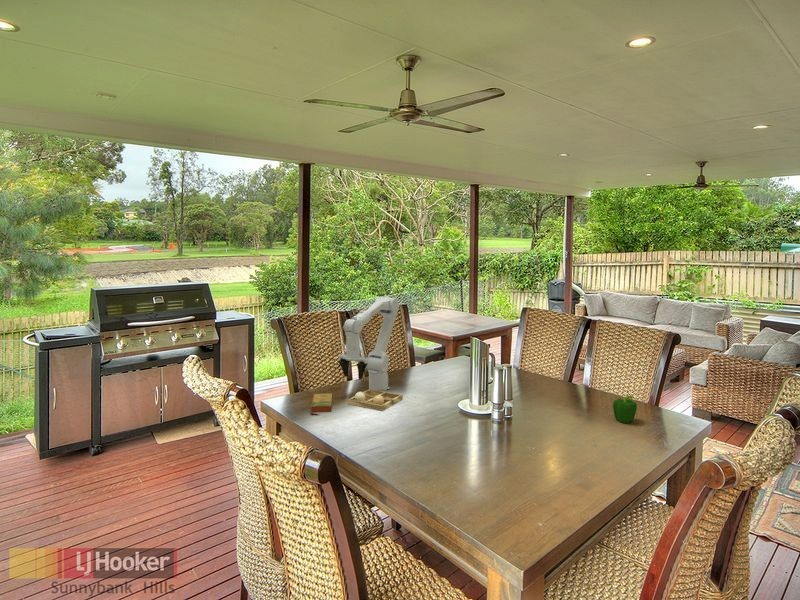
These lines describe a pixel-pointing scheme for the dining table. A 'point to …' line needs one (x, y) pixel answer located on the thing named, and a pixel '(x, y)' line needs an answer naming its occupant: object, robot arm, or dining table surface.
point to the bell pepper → (624, 409)
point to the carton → (321, 403)
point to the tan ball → (378, 400)
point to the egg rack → (370, 394)
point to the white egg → (360, 396)
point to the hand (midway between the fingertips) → (353, 377)
